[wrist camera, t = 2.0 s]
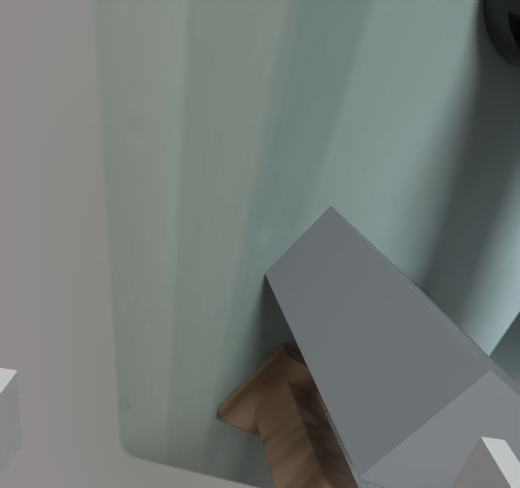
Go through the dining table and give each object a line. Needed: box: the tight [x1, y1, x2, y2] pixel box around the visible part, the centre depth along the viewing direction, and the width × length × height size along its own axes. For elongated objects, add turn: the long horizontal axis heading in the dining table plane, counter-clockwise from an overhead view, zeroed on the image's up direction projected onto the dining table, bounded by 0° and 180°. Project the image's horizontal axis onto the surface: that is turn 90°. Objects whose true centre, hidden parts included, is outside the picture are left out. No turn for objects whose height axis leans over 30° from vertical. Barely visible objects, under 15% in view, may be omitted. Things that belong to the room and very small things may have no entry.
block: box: [265, 207, 520, 488], centre depth 38 cm, size 20×10×23 cm, turn 46°
